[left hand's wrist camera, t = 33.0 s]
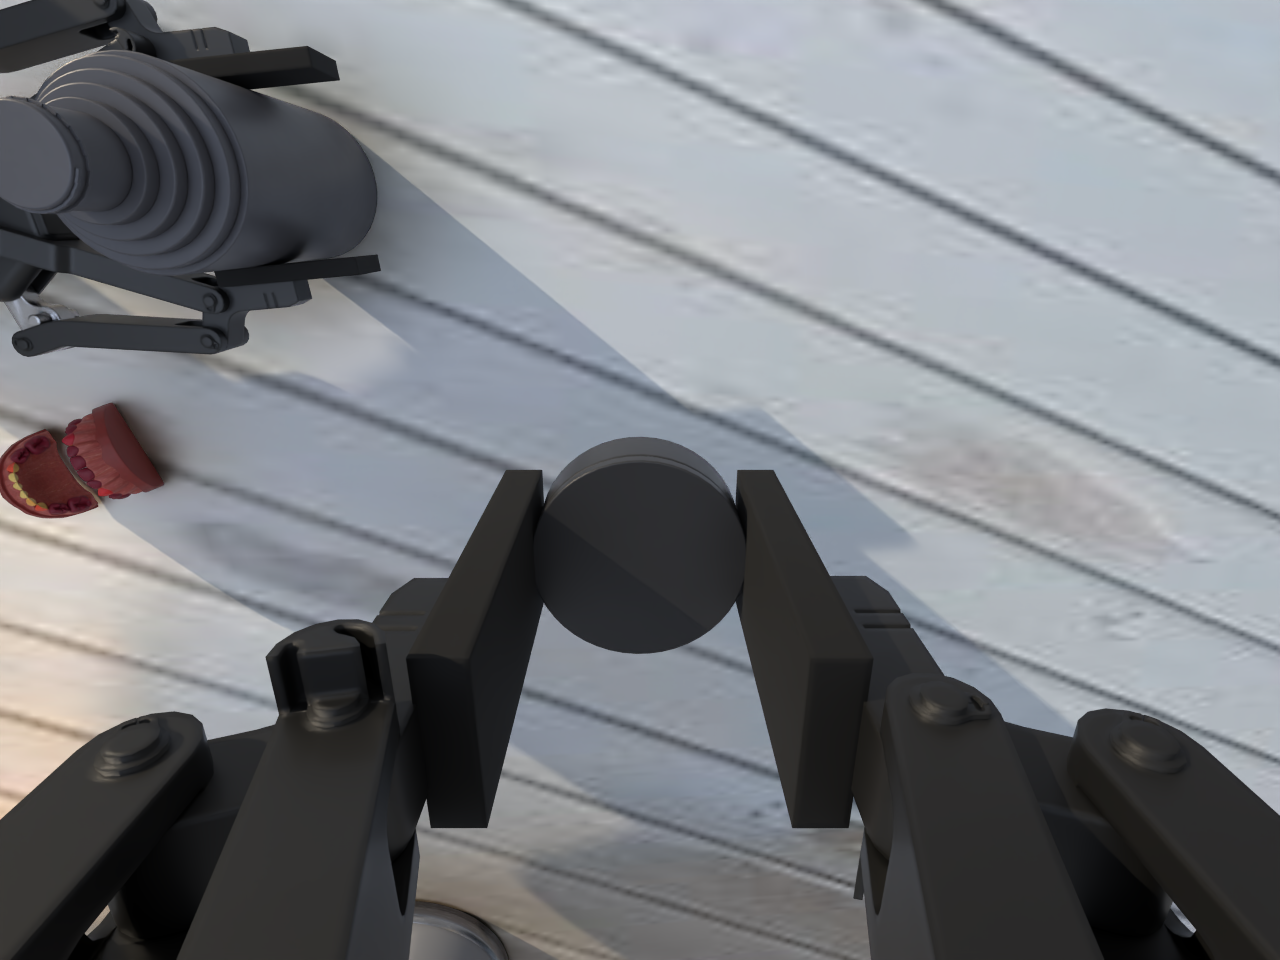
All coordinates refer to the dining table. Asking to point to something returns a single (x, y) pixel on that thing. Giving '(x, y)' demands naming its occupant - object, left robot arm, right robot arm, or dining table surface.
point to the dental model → (76, 467)
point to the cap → (639, 546)
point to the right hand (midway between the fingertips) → (347, 168)
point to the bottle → (183, 168)
